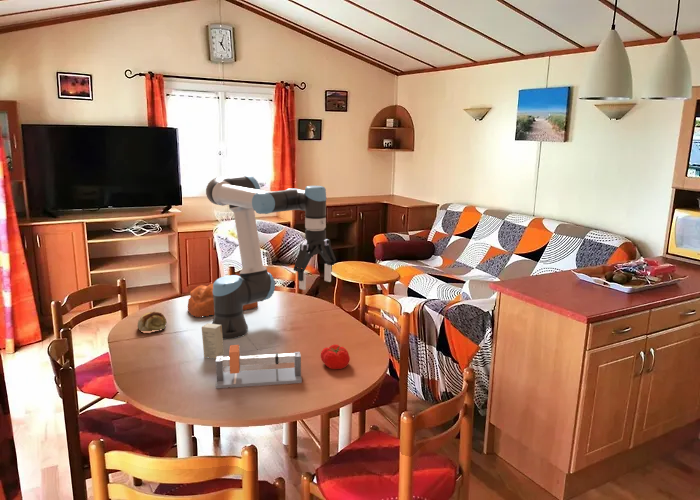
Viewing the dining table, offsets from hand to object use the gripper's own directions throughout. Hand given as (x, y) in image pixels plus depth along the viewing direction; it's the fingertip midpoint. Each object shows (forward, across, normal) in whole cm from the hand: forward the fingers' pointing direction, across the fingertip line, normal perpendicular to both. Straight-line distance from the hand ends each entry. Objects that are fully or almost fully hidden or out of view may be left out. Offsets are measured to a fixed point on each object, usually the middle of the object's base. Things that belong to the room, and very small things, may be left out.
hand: (315, 285), depth 201 cm
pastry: (+28, -27, +69) cm, 79 cm away
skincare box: (+27, -28, +26) cm, 47 cm away
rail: (+26, -29, -2) cm, 39 cm away
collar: (+23, -35, +4) cm, 42 cm away
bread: (+28, +8, +67) cm, 73 cm away
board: (+26, -29, -2) cm, 39 cm away
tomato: (+27, -4, -14) cm, 30 cm away
